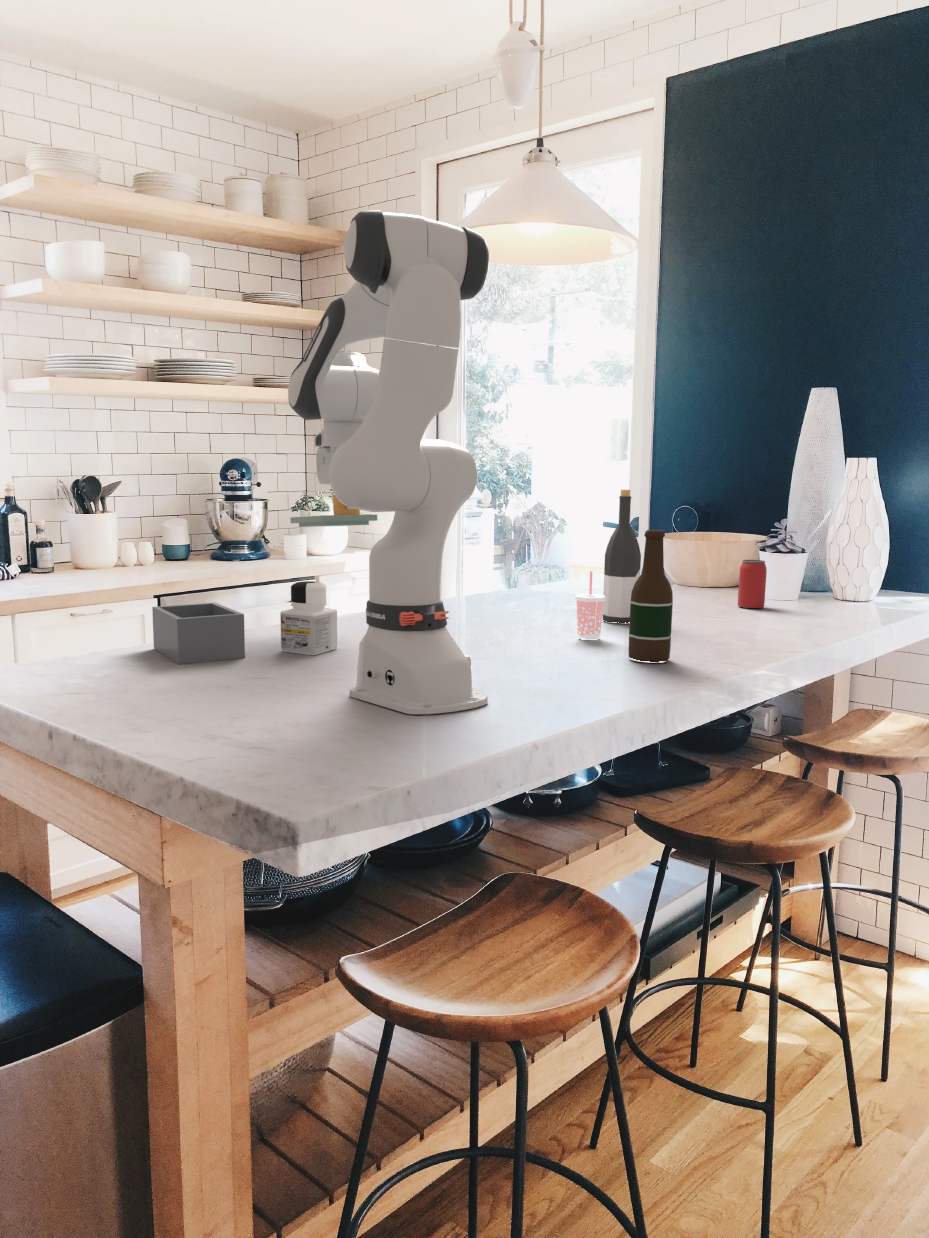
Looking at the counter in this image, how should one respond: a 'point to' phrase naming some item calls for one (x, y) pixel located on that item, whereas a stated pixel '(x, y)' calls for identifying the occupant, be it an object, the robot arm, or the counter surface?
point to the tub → (198, 632)
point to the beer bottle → (651, 605)
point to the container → (308, 621)
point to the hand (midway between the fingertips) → (346, 508)
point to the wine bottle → (621, 566)
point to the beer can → (752, 584)
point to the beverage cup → (589, 614)
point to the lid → (335, 517)
